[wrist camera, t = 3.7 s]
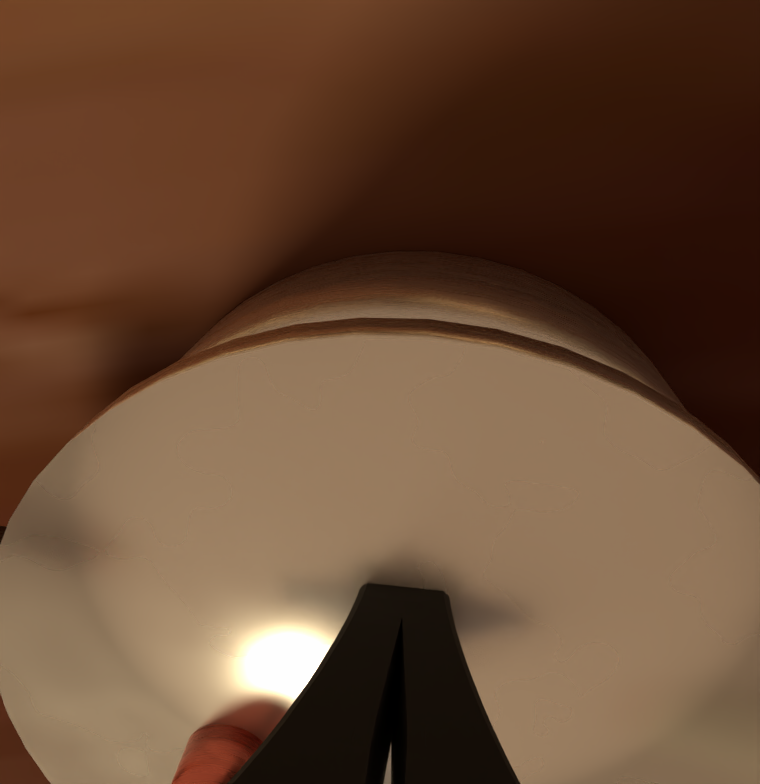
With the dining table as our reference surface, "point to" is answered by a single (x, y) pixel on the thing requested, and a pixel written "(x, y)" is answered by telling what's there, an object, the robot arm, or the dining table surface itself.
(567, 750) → the cooker lid
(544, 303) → the cooker pot
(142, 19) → the dining table surface
